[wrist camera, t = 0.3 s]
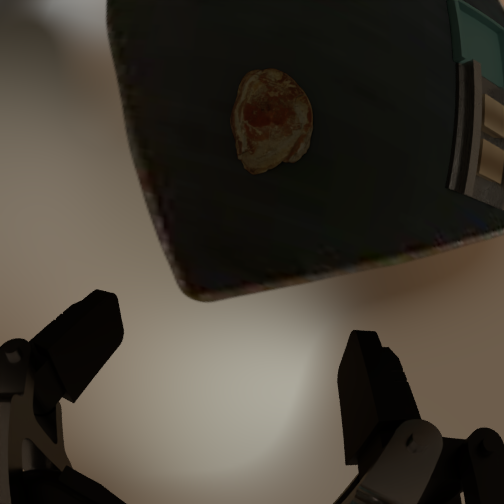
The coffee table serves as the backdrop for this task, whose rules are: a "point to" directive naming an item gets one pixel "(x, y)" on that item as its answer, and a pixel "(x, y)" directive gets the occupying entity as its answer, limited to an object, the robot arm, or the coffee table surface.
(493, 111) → the chip
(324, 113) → the coffee table surface
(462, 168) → the slot rail
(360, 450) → the robot arm
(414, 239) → the coffee table surface
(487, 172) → the beige square block
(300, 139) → the stone
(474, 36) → the tray
